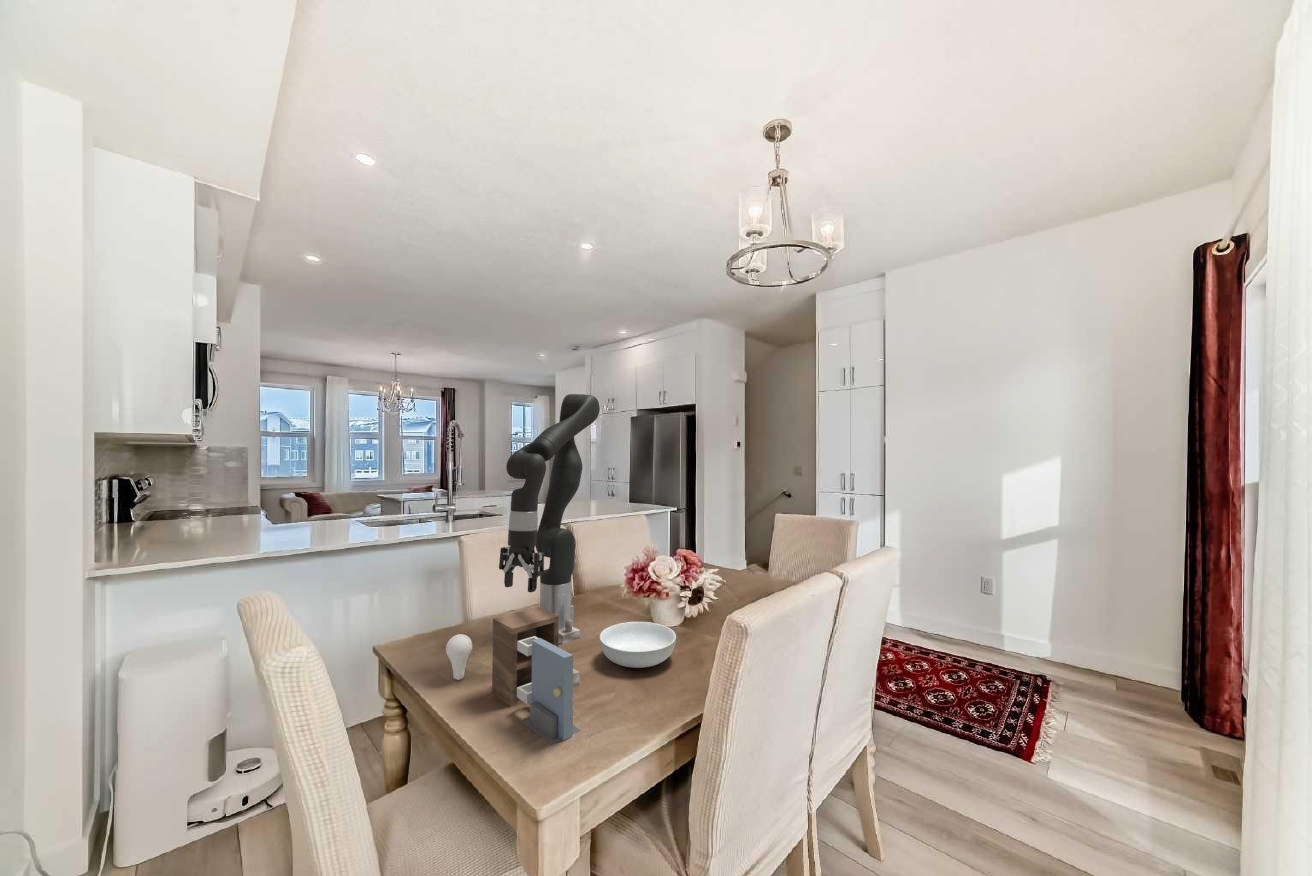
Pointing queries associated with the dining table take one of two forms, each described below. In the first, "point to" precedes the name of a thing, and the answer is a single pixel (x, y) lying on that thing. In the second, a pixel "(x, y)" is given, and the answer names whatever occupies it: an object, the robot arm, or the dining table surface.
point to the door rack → (545, 723)
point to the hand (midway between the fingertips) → (519, 589)
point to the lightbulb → (458, 653)
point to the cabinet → (513, 664)
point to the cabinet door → (549, 681)
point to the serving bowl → (637, 643)
